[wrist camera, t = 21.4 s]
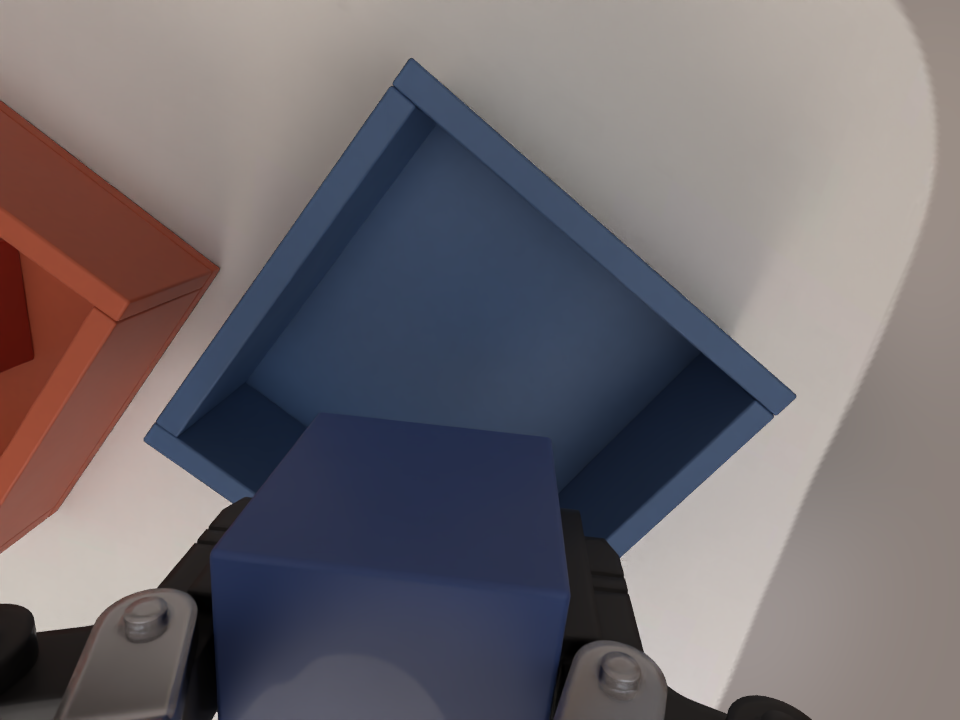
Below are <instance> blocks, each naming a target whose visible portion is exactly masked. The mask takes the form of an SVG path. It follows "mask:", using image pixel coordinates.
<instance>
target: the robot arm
mask: <svg viewBox="0 0 960 720" xmlns="http://www.w3.org/2000/svg"><path fill="white" fill-rule="evenodd" d="M251 499H252V497H244V498H242V499H240V500H238V501H237V502H235V503H233V504H232V505H230V506H228V507H227V508H225V509H223V510H222V511H221V512H220V514H219V515H218V516H217V517H216V518H215V520H214V521H213V522H212V523H211V524H210V526H209V529H206V530H205V531H204V533H203V534H202V535H201V536H200V537H199V539H198V541H197V543H194V545H193V546H192V547H191V548H190V549H189V551H188V552H187V553H186V554H185V555H184V557H183V558H182V559H181V560H180V561H179V562H178V564H177V565H176V566H175V567H174V568H173V570H172V571H171V572H170V573H169V574H168V576H167V577H166V578H165V579H164V580H163V582H162V583H161V584H160V585H159V586H158V588H156V589H149V590H144V591H140V592H137V593H134V594H131V595H129V596H126V597H124V598H122V599H120V600H119V601H117V602H115V603H114V604H112V605H111V606H109V607H108V608H107V609H106V610H105V611H104V612H103V613H102V614H101V615H100V616H99V617H98V619H97V620H96V622H95V624H94V625H91V626H85V627H77V628H69V629H61V630H52V631H44V632H36V628H35V622H34V617H33V615H32V613H31V612H30V611H29V610H28V609H26V608H24V607H22V606H19V605H14V604H0V720H212V718H213V716H214V715H215V713H216V712H218V706H217V687H216V668H215V649H214V630H213V611H212V592H211V573H210V553H211V551H212V549H213V548H214V546H215V545H216V544H217V542H218V541H219V540H220V539H221V537H222V536H223V535H224V534H225V532H226V531H227V530H228V528H229V527H230V526H231V525H232V523H233V522H234V521H235V519H236V518H237V517H238V516H239V514H240V513H241V512H242V511H243V509H244V508H245V507H246V505H247V504H248V503H249V502H250V500H251ZM560 513H561V521H562V530H563V538H564V546H565V554H566V562H567V570H568V578H569V586H570V594H571V597H570V603H569V609H568V615H567V621H566V626H565V632H564V638H563V644H562V650H561V656H560V662H559V668H558V673H557V679H556V685H555V691H554V697H553V703H552V709H551V715H550V720H812V719H810V718H809V717H808V716H807V715H805V714H804V713H802V712H801V711H800V710H798V709H796V708H794V707H793V706H791V705H789V704H787V703H785V702H782V701H780V700H777V699H774V698H769V697H766V696H758V695H755V696H746V697H742V698H740V699H737V700H736V701H735V702H734V703H732V705H731V706H730V708H729V710H728V713H727V714H726V713H723V712H721V711H718V710H715V709H713V708H710V707H708V706H705V705H702V704H700V703H697V702H695V701H692V700H690V699H688V698H686V697H684V696H682V695H680V694H679V693H677V692H675V691H674V690H672V689H671V688H670V687H668V686H667V683H666V679H665V677H664V674H663V673H662V671H661V669H660V668H659V667H658V665H657V664H656V663H655V662H654V661H653V660H652V659H651V658H650V657H649V656H648V655H646V654H645V653H644V651H643V647H642V643H641V640H640V636H639V632H638V628H637V624H636V620H635V616H634V612H633V608H632V605H631V601H630V597H629V594H628V589H627V585H626V581H625V578H624V573H623V570H622V566H621V562H620V558H619V555H618V554H617V553H616V552H615V551H614V549H613V548H612V547H611V546H610V545H609V543H608V542H607V541H606V540H605V539H604V538H597V537H588V536H584V532H583V526H582V521H581V515H580V511H579V510H574V509H566V508H560Z"/></svg>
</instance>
